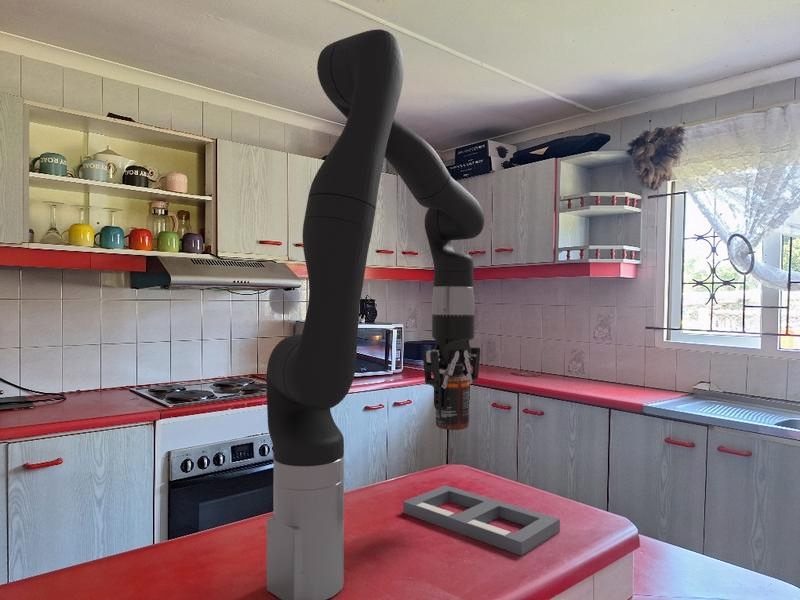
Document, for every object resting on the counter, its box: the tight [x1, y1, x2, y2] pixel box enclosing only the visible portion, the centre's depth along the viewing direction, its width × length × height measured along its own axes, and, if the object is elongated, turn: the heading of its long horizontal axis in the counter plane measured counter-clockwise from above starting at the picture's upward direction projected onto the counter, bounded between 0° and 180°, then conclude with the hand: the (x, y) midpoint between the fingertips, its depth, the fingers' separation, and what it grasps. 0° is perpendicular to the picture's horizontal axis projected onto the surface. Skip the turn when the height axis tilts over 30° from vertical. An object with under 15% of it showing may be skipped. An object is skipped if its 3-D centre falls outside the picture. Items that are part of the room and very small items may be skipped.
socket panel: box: [402, 484, 561, 556], centre depth 95 cm, size 12×24×2 cm, turn 47°
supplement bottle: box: [435, 364, 470, 431], centre depth 98 cm, size 6×6×11 cm
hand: (452, 406), depth 98 cm, fingers closed on supplement bottle, 6 cm apart
